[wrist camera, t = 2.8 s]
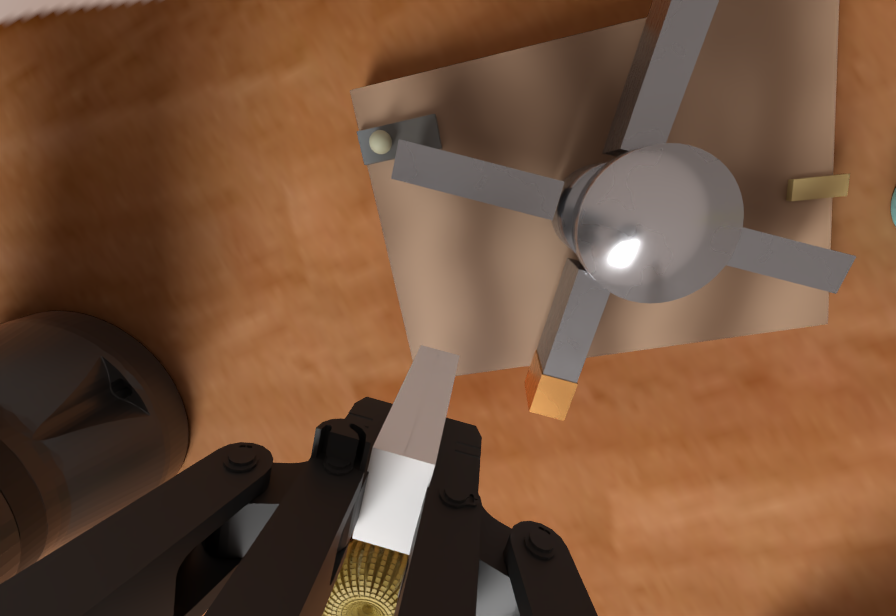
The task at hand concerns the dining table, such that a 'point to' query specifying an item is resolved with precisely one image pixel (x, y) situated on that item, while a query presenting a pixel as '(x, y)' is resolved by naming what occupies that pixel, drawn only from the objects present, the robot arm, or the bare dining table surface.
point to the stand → (582, 142)
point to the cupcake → (893, 207)
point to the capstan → (630, 209)
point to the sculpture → (367, 581)
